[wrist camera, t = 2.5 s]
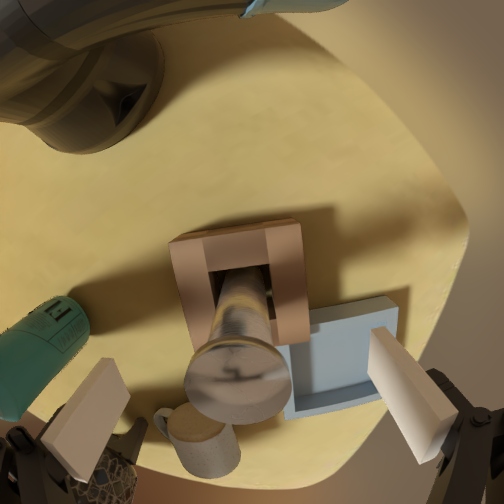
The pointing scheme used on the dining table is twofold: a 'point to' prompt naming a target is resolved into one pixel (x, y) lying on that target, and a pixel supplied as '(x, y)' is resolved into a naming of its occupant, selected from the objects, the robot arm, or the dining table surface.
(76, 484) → the planter
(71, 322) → the beverage bottle
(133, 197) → the dining table surface
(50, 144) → the robot arm
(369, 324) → the tray
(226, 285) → the pin
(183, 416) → the ceramic mug
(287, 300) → the block
